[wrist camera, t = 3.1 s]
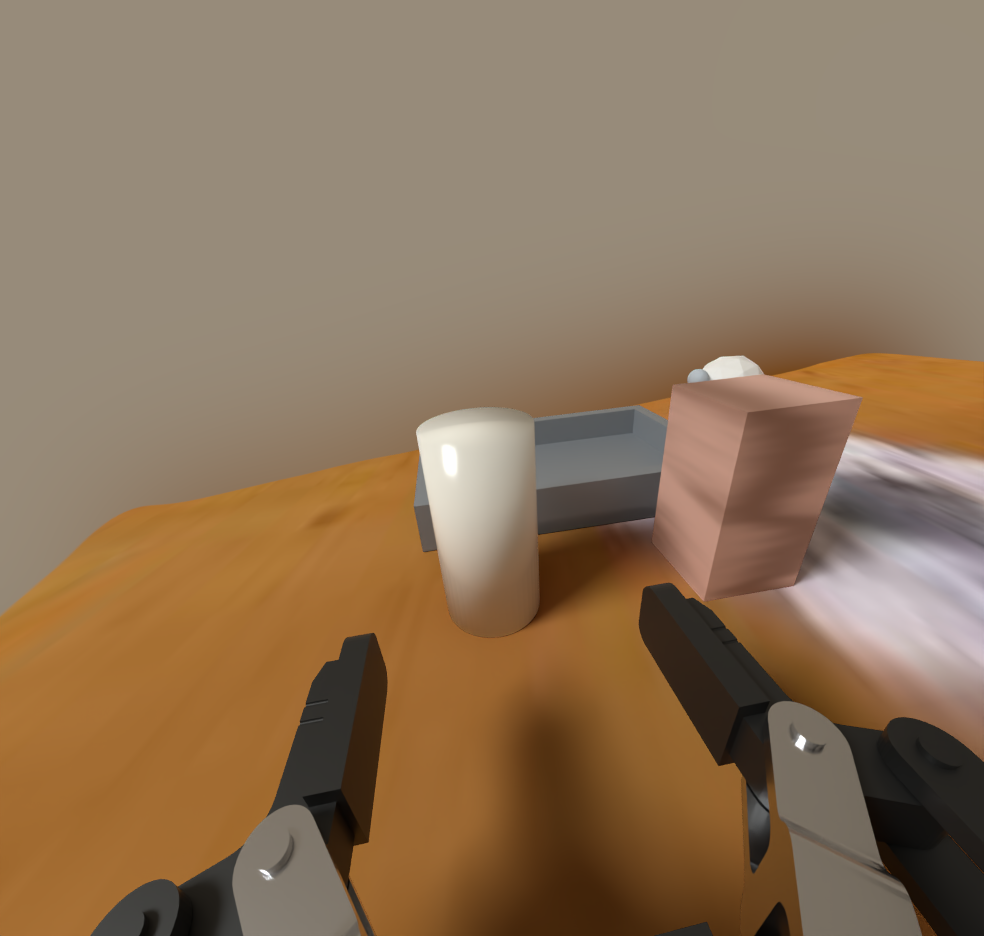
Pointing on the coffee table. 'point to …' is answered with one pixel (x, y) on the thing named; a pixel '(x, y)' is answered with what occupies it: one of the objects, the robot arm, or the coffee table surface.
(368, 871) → the coffee table surface
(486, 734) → the coffee table surface
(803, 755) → the robot arm
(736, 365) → the alien figurine
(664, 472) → the coral block
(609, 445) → the tray
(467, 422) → the cream cylinder
